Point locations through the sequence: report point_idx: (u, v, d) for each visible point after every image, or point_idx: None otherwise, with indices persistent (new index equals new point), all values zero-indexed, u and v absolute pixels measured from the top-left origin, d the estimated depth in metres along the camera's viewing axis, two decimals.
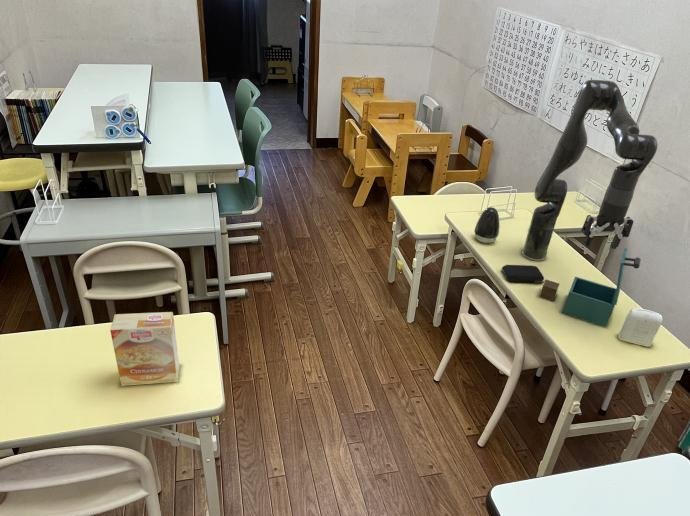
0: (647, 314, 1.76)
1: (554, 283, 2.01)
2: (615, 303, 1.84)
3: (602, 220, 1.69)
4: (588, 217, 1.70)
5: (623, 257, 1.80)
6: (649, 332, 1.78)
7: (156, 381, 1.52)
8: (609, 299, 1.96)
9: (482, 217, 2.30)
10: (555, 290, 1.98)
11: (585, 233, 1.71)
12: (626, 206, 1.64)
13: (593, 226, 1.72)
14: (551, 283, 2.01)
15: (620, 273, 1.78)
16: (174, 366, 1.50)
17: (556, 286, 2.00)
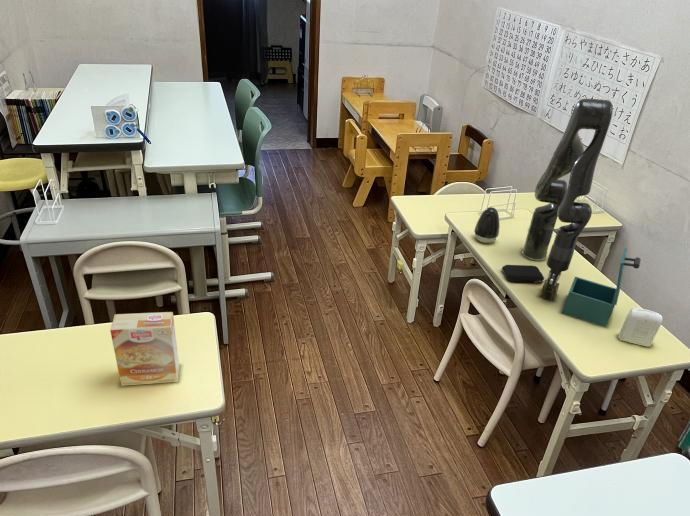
0: (647, 314, 1.76)
1: None
2: (615, 303, 1.84)
3: (557, 275, 1.95)
4: (550, 281, 1.93)
5: (623, 257, 1.80)
6: (649, 332, 1.78)
7: (156, 381, 1.52)
8: (609, 299, 1.96)
9: (482, 217, 2.30)
10: (555, 290, 1.98)
11: (552, 291, 1.96)
12: None
13: None
14: None
15: (620, 273, 1.78)
16: (174, 366, 1.50)
17: (556, 286, 2.00)
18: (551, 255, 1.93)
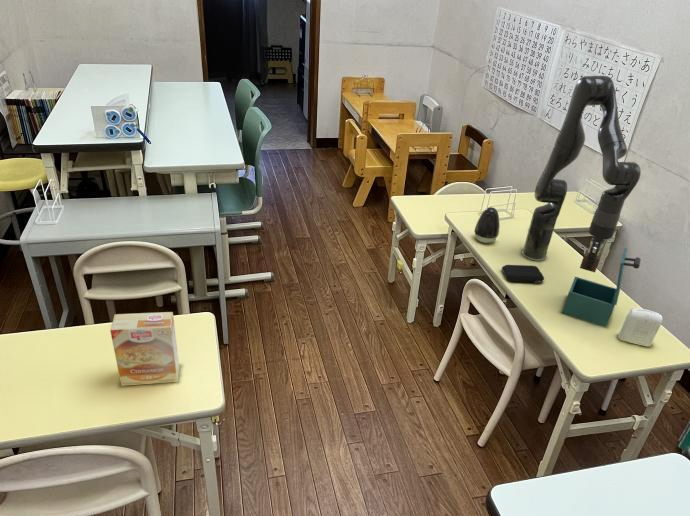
0: (647, 314, 1.76)
1: None
2: (615, 303, 1.84)
3: (600, 243, 1.80)
4: (594, 249, 1.78)
5: (623, 257, 1.80)
6: (649, 332, 1.78)
7: (156, 381, 1.52)
8: (609, 299, 1.96)
9: (482, 217, 2.30)
10: (597, 260, 1.84)
11: (594, 261, 1.81)
12: None
13: None
14: None
15: (620, 273, 1.78)
16: (174, 366, 1.50)
17: (598, 256, 1.85)
18: (594, 221, 1.79)
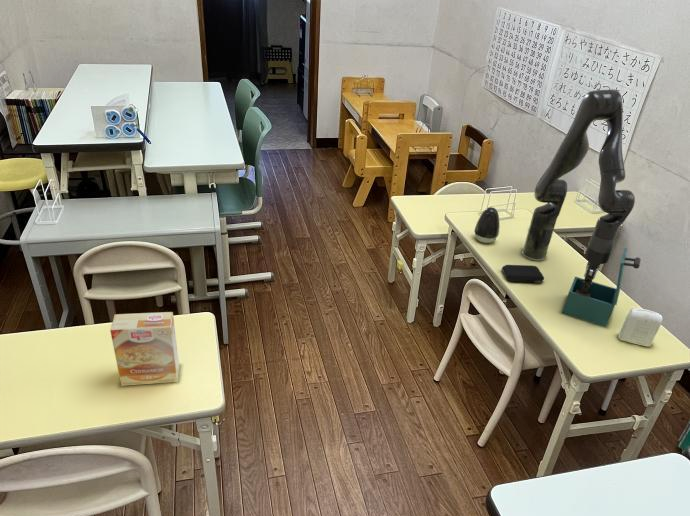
0: (647, 314, 1.76)
1: None
2: (615, 303, 1.84)
3: (596, 267, 1.85)
4: (590, 271, 1.82)
5: (623, 257, 1.80)
6: (649, 332, 1.78)
7: (156, 381, 1.52)
8: (609, 299, 1.96)
9: (482, 217, 2.30)
10: None
11: (590, 285, 1.84)
12: None
13: None
14: (582, 294, 1.95)
15: (620, 273, 1.78)
16: (174, 366, 1.50)
17: None
18: (590, 247, 1.83)
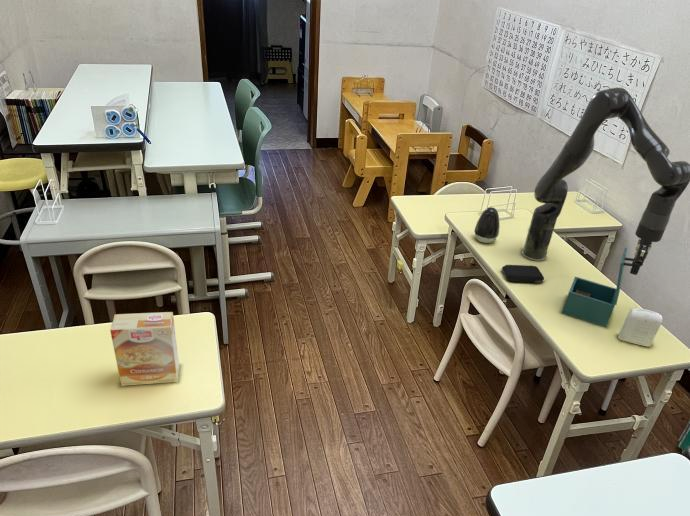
0: (647, 314, 1.76)
1: (585, 293, 1.95)
2: (615, 303, 1.84)
3: (648, 246, 1.73)
4: (642, 252, 1.72)
5: (623, 257, 1.80)
6: (649, 332, 1.78)
7: (156, 381, 1.52)
8: (609, 299, 1.96)
9: (482, 217, 2.30)
10: None
11: None
12: None
13: (637, 255, 1.76)
14: (582, 294, 1.95)
15: (620, 273, 1.78)
16: (174, 366, 1.50)
17: None
18: (643, 224, 1.72)
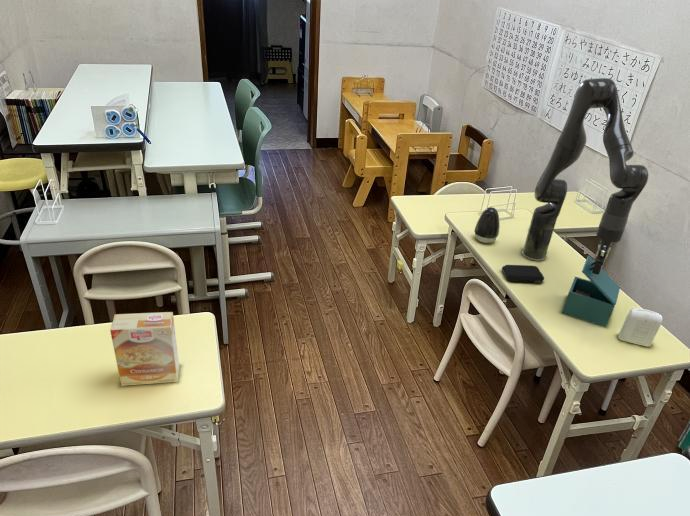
0: (647, 314, 1.76)
1: (585, 293, 1.95)
2: (613, 303, 1.84)
3: (608, 246, 1.80)
4: (602, 252, 1.78)
5: (584, 265, 1.87)
6: (649, 332, 1.78)
7: (156, 381, 1.52)
8: None
9: (482, 217, 2.30)
10: None
11: (602, 264, 1.81)
12: None
13: (598, 255, 1.82)
14: (582, 294, 1.95)
15: (590, 279, 1.84)
16: (174, 366, 1.50)
17: None
18: (602, 225, 1.78)
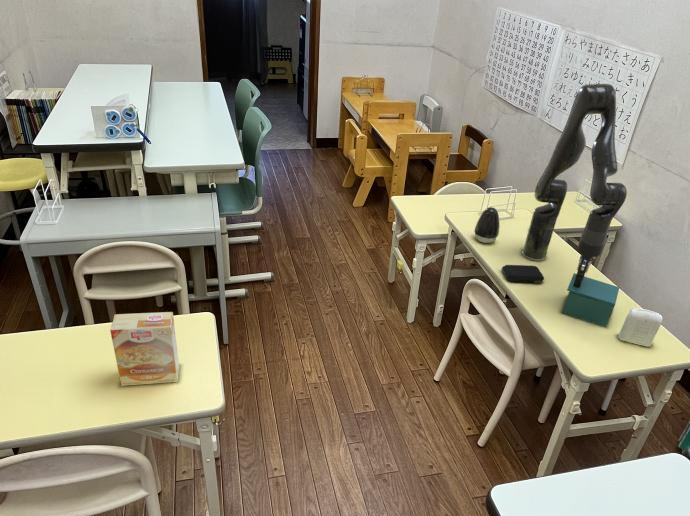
0: (647, 314, 1.76)
1: None
2: (613, 304, 1.84)
3: (589, 261, 1.85)
4: (582, 267, 1.83)
5: None
6: (649, 332, 1.78)
7: (156, 381, 1.52)
8: None
9: (482, 217, 2.30)
10: None
11: (583, 278, 1.86)
12: None
13: None
14: None
15: (578, 293, 1.88)
16: (174, 366, 1.50)
17: None
18: (582, 240, 1.83)
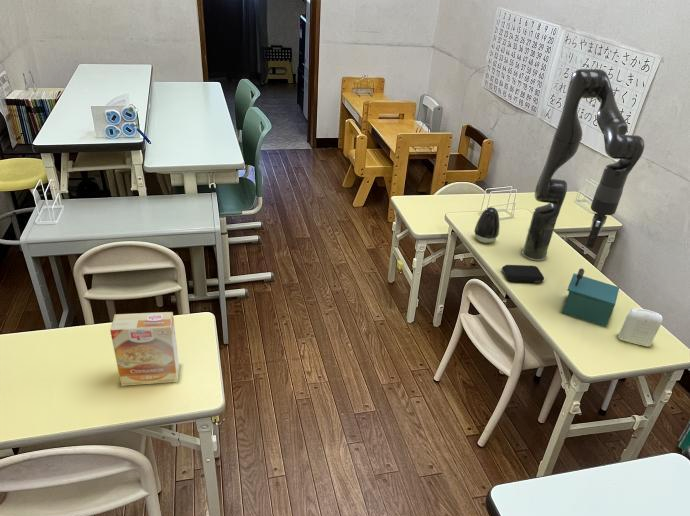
0: (647, 314, 1.76)
1: None
2: (613, 304, 1.84)
3: (603, 219, 1.77)
4: (597, 222, 1.74)
5: (569, 284, 1.93)
6: (649, 332, 1.78)
7: (156, 381, 1.52)
8: None
9: (482, 217, 2.30)
10: None
11: (597, 237, 1.76)
12: None
13: None
14: None
15: (578, 293, 1.88)
16: (174, 366, 1.50)
17: None
18: (597, 197, 1.75)
